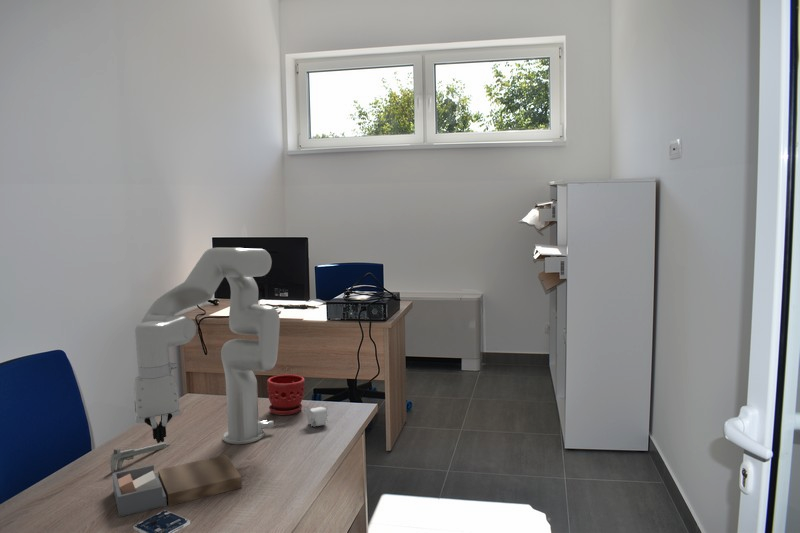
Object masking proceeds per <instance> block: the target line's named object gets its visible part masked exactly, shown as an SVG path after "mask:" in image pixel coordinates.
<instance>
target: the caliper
mask: <svg viewBox="0 0 800 533" xmlns="http://www.w3.org/2000/svg"><path fill="white" fill-rule="evenodd" d="M170 445H171V444H170V443H167V442H160V443H156V444H153V445H152V444H151V445H149V446H145V447H141V448H136V449H134V448H131V449H125V450H121V448H117V449H113V453H111V455H110V456H111V457H110V461H109V462H110V472H112V473H115V472H116V471H120V470H121V471H122V467H123V464H124V461H125V460H126V461H130V460H133V459H134V457H136V456H140V455H144V454H148V453H151V452H155V451H159V450H163V449H165V448H167V447H168V446H170Z"/></svg>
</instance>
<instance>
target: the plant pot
mask: <svg viewBox="0 0 800 533" xmlns="http://www.w3.org/2000/svg"><path fill="white" fill-rule="evenodd" d="M266 382H267V384H266V386H267V387H266V389H267V395H268V399H269V402H270V403H269V404H270V405H269V408H268V409H269V411H270V412H271V413H272V414H274V415H276V416H289V415H290V416H291V415H294V414H296V413H299V412H300V411H301V410H302V408H303V403H302V401H303V398H304V394H305V386H306V384H305V383H306V382H305V378H304V377H303V376H301V375H298V374H297V375H296V374H280V375H275V376H271V377H269V378H268V379H267V380H266Z"/></svg>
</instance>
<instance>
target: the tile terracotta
mask: <svg viewBox="0 0 800 533" xmlns="http://www.w3.org/2000/svg"><path fill="white" fill-rule="evenodd" d="M118 483H119V488H120V490H121V492H122V494H127V493H132V492H136V489H135V485H134V482H133V479H132V477H131V475H130V474H128V475H126V476H124V477H122V478H120V479H118Z"/></svg>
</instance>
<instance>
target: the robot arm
mask: <svg viewBox="0 0 800 533" xmlns="http://www.w3.org/2000/svg"><path fill="white" fill-rule="evenodd" d="M272 262H273V260H272V257H271V254H270V253H269V252H268V251H267V250H266V249H263V248H244V247H212V248H209V249H207V250H206V251H204V253H202V255H201V257H200V258H199V259H198V261H197V262H196V264H195V265H194V267H193V268H192V270H191V271H190V273H188V274H189V275H188V276H187V277H186V279H185V280H184V281H183V282H182V283H180V284H179V285H177V286H175V287H174V288H173V287H172V289H170V290H169V291H166V292H165V293H164V294H162V295H161V296H159V298H157V299H156V300H155V301H154V302H153V303H152V305H150V307H149V309H148V310H147V312H146V313H145V315H144V316H143V318H142V319H141V321H140V322H141V323H139V324H137V325H136V326H135V329H134V332H135V334H134V335H135V336H134V337H135V347H136V359H137V373H138V376H137V377H135V379H134V385H133V386H134V388H133V392H134V394H133V396H134V397H133V398H134V399H133V400H134V411H135V418H134V421H135V424H147V425H148V426H150V427H151V429H152V439H153V440H155V441H156V444H160V443H165V438H166V437H167V428H166V427H167V425H168V423H169V422H170V421H171V420H172V418H174V417H177V416H179V415H181V409H180V399H179V393H178V392H179V391H178V386H177V381H176V378H175V377H176V376H175V375H174V372H173V370H174V369H177V363H176V362H171V359H170V358H171V356H170V348H172V347H175V346H182V345H185V344H188V343H190V342H191V341H192V340H193V339H194V337H195V336H196V333H197V325H196V323H195V321H194V320H193V319H192V318H190V317H188V316H185V315H176V314H178V313H180V312H182V311H184V310H186V309H190V308H193V307H196V306H199V305H201V304H205V303H206V302H208V301H209V300H211V299H212V298H213V296H214V294H215V293H216V291H217V290H218V288H219V286H220V285H221V283H222V281H223V280H224V278H226V280H227V282H228V284H229V287H230V303H229V316H228V326H229V329H230V332H232V333H234V334H237V335H247V336H257V337H258V339H251V338H250V339H249V338H233V339H230V340H228V341H226V342H224V344H223V346H222V347H221V352H220V359H221V363H222V366H223V371H224V378H225V392H226V393H225V394H226V395H225V396H226V397H225V398H226V413H227V414H226V415H227V420H226V421H227V431H225V432H224V433H223V436H222V439H223V441H224V442H225V443H226V444H231V445H246V444H251V443H255V442H257V441H259V440H261V439H262V438H264V436H265V431H264V430H265V429H267V428H268V429H270V428H274V425H275V423H274V420H269V421H268V420H267V419H266V420H265V419H264V420H262V421H261V420H259V419H260V418H259V397H258V380H257V378H256V375H255V373H254V372H269V371H271V370H273V369H274V368H275V367H276V365H277V360H278V353H279V341H280V340H279V339H280V329H281V328H280V326H281V325H280V324H281V323H280V322H281V321H280V319H281V318H280V316H279V315H280V314H279V311H278V310H277V309H276V308H275V307H274V306H272V305H268V304H267V305H266V304H259V287H258V284H257V281H256V280H255V278H254V277H263V276H266V275H267V274H268V273H269V272H270V270H271V269H272ZM156 417H160V419H159V420H160V421H159V423H158V422H157V420H156Z"/></svg>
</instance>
